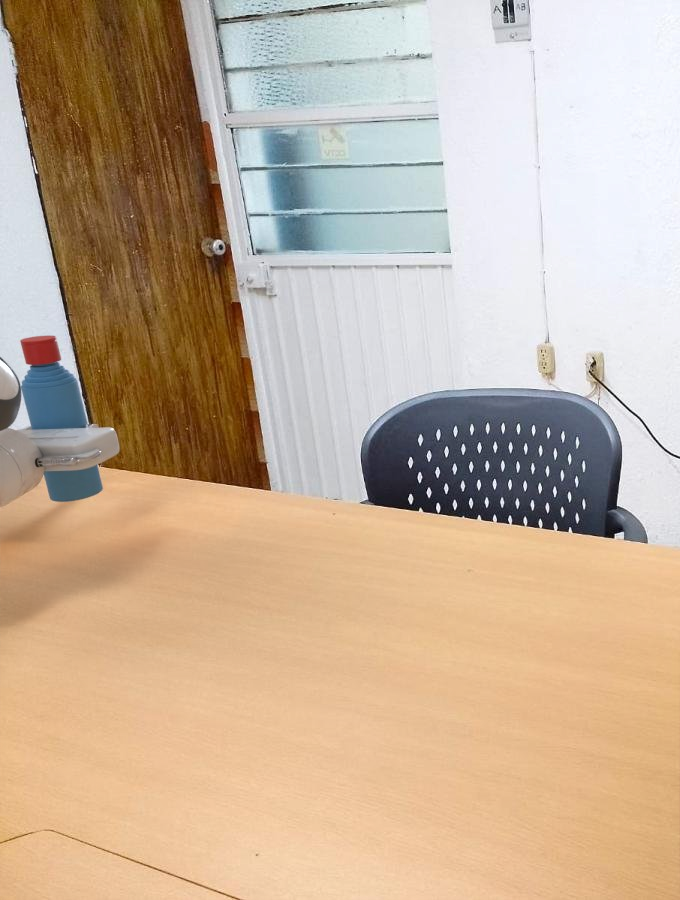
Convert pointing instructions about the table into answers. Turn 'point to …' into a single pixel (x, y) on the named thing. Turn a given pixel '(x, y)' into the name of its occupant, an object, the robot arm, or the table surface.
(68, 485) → the bottle
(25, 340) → the cap
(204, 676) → the table surface
